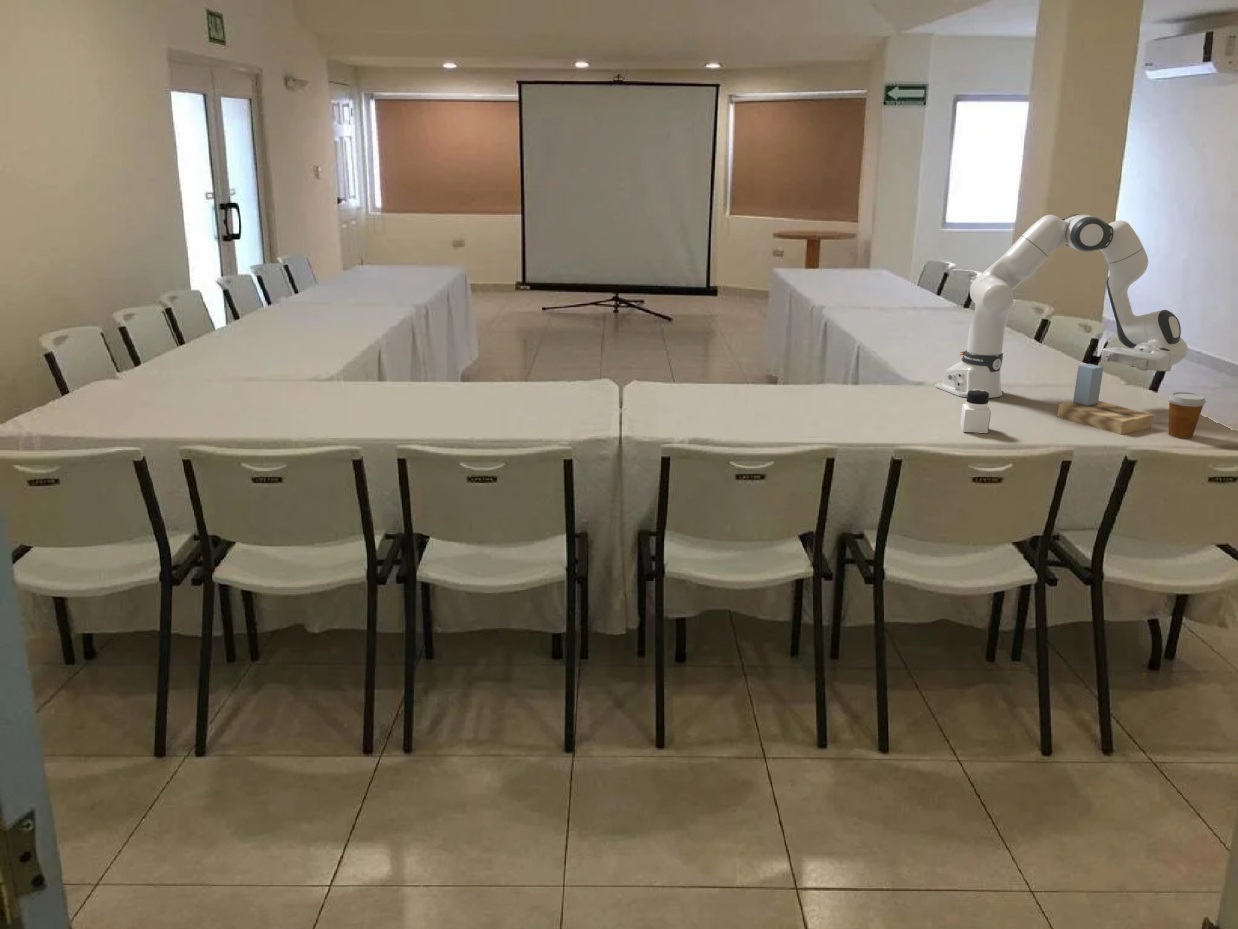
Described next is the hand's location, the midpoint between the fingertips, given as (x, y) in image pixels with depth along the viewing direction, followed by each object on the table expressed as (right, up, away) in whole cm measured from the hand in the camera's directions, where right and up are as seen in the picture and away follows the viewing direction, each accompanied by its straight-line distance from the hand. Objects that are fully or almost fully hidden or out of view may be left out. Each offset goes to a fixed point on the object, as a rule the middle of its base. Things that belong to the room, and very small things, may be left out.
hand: (1118, 361), depth 314 cm
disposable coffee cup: (+8, -24, -20) cm, 32 cm away
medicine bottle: (-50, -22, -14) cm, 57 cm away
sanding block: (-11, -13, -2) cm, 18 cm away
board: (-8, -19, -6) cm, 22 cm away
